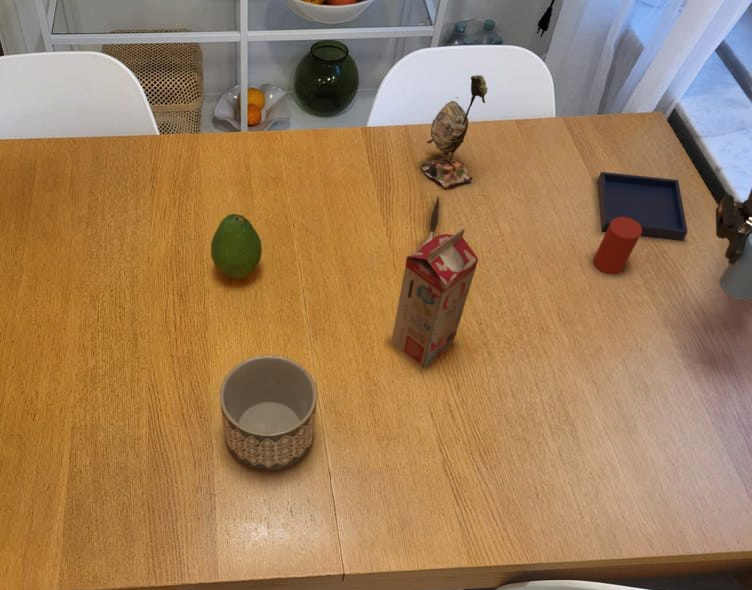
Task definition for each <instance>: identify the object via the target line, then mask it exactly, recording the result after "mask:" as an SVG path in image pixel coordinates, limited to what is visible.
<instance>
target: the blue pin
mask: <svg viewBox="0 0 752 590" xmlns="http://www.w3.org/2000/svg"><path fill="white" fill-rule="evenodd" d="M718 283H719V287H720V289H721V290H722V291H723V292H724V293H725V294H727V295H728V296H730V297H732V298H734V299H738V300H750V299H752V233H751V234H750V235H749V237H748V238H747V240H746V243H745V245H744V248H743V251H742V253H741V255H740V257H739V258H738V260H737V261H736V262H735V264H734V265H732V264H729V263H728V266H727V267H726V269H725V270H724V272H722V274H721V275H720V277H719V280H718Z"/></svg>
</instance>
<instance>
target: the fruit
mask: <svg viewBox="0 0 752 590" xmlns="http://www.w3.org/2000/svg"><path fill="white" fill-rule="evenodd" d="M262 253H263V249H262V240H261V238H260V237H259V234H258V232H257V231H256V229H255V227H254V226H253V225H252V223H251V222H250V221H249V220H248V219H247V218H246V217H245V216H244V215H242V214H235V213H232V214H228V215H226V216H225V217H224V218H223V219H222V220H221V221H220V223H219V225H218V227H217V228H216V231H214V234H213V237H212V239H211V242H210V256H211V259H212V262H213V264H214V266H215V268H217V269H218V271H220V273H222V274H223V275H224V276H226V277H228V278H231V279H243V278H246V277H247V276H249V275H250V274H252V273H253V272H254V271H255V269H256V268H257V267H258V265H259V263H260V261H261V258H262Z"/></svg>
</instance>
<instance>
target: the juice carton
mask: <svg viewBox="0 0 752 590" xmlns="http://www.w3.org/2000/svg"><path fill="white" fill-rule="evenodd" d="M465 230H466V228H465V227H463V228H462V229H460V230H459V231H458V232H456V233H455V234H451V233H445V232H440V233H439V234H437V235H436V236H434V237H433V239H432V240H430V241H429V242H427V243H426V244H425V245H423V244H422V245H423V246H422V245H421V246H422V247H421V246H420V247H419V248H417V249H416V250H414V251H413V252H412V253H410V254H409V255H408V256H406V260H405V264H404V271H403V276H402V282H401V287H400V293H399V298H398V303H397V308H396V313H395V318H394V326H393V330H392V336H391V342H390V343H391V344H393V346H395V347H396V348H397V349H399V350H400V351H401V352H402V353H404V354H405V355H406V356H407V357H409V358H410V359H411V360H412V361H413V362H414V363H416V364H417V365H418V366H419V367H421V368H422V369H424V368H426V367H427V366H428V365H430V364H431V363H433V361H435V360H436V359H437V358H438V357H440V356H441V355H442V354H443V353H445V352H446V351H447V350H448V349H450V348H451V347H452V346H453V345H454V342H455V339H456V336H457V332H458V329H459V326H460V323H461V320H462V319H461V318H462V316H463V313H464V310H465V309H464V308H465V306H466V302H467V298H468V295H469V292H470V288H471V286H472V282H473V279H474V275H475V272H476V268H477V265H478V261H479V259H478V256H477V255H476V253H475V252H474V251H473V249H472V248H471V246H470V245H469V244H468V242H467V241H466V240H465V238H464V237H463V236H464V233H465Z"/></svg>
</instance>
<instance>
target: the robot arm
mask: <svg viewBox="0 0 752 590" xmlns="http://www.w3.org/2000/svg"><path fill="white" fill-rule="evenodd" d="M736 213H738V215H739V217H740V219H741V220H742V222H743V224H741V225H740V226H737V225H735V224H736V216H735V215H736ZM751 233H752V188H751V189H750V192H749V194H748V197H747V199H745V200H744V201H743V202H741V201H735V197H734V196H733V195H732V194H724V196H723V197H722V199H721V200H720V202H719V204H718V205H717V207H716V209H715V235H716V237H717V238H719V239H722V240H723V239H726V240H728V245H727V248H726V250H725V254H724V257H725V259H728V261H727V263H728V265H729V264H732V265H734V264H735V262H736V261H737V260H738V258H739V257H740V255H741V253H742V251H743V248H744V245H745V243H746V240H747V238H748V237H749V235H750V234H751Z"/></svg>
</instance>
